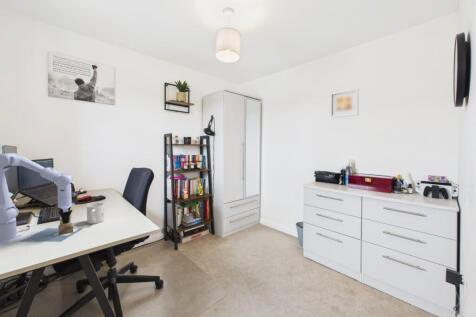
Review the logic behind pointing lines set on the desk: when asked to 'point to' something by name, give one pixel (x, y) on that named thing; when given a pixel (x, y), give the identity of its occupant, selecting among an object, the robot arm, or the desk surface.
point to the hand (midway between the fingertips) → (65, 221)
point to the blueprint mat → (49, 235)
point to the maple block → (65, 224)
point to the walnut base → (65, 230)
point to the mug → (95, 213)
